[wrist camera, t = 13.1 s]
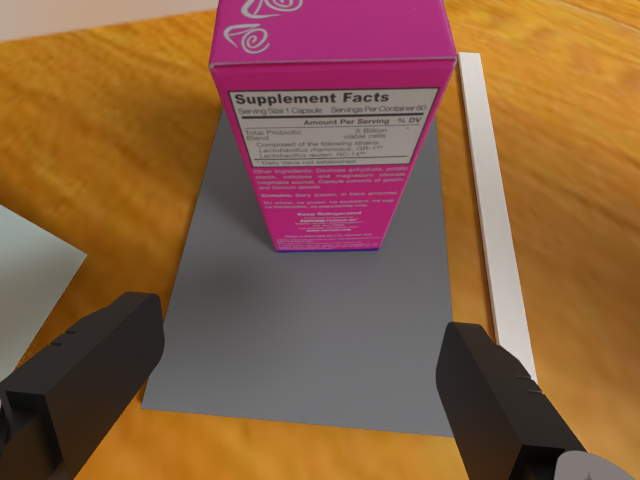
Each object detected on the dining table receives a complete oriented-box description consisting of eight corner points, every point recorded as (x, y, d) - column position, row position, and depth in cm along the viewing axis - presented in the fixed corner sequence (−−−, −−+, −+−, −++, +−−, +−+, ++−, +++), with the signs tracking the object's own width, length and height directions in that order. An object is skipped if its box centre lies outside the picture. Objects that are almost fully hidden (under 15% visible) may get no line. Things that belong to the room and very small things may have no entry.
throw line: (477, 57, 25) (479, 53, 24) (548, 471, 14) (553, 473, 14) (457, 55, 25) (459, 52, 24) (513, 468, 14) (516, 469, 14)
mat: (428, 63, 24) (430, 56, 24) (457, 436, 14) (462, 438, 14) (241, 50, 25) (239, 44, 24) (145, 408, 15) (140, 408, 14)
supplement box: (274, 166, 20) (226, -84, 9) (372, 165, 20) (434, -83, 9) (270, 256, 17) (200, 56, 7) (381, 254, 17) (479, 55, 7)
